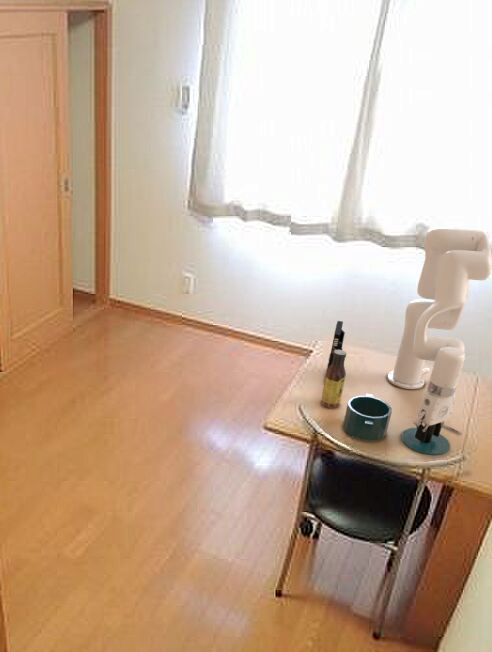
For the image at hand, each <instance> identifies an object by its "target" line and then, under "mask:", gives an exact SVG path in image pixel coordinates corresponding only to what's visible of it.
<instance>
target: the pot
mask: <svg viewBox="0 0 492 652" xmlns="http://www.w3.org/2000/svg"><path fill="white" fill-rule="evenodd" d="M364 394H365V395H356V396H353V397H351V398H350V399H349V400H348V401H347V405H346V410H345V414H344V419H343V424H342V429H343V431H344V432H345V433H346V434H347V436H349V437H350V438H356V439H359V440H363V441H368V442H369V441H370V442H372V441H379V440H382V439H384V438H385V437H386V436H387V432H388V429H389V424H390V420H391V417H392V413H393V411H392V407H391V406H390V405H389V403H388V402H387V401H385V400H383V399H382V398H378V397H375V396H374V394H372V393H364Z"/></svg>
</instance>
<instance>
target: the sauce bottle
mask: <svg viewBox="0 0 492 652" xmlns="http://www.w3.org/2000/svg"><path fill="white" fill-rule="evenodd" d="M346 358H347V352H346V351H345V350H343V349H342V350H335V351H334V353H333V361H332V364H331V365H330V366H329V368H328V369H327V368H326V374H327V375H326V374H325V379H324V385H323V389H322V396H321V404H322V405H323V407H326V408H327V409H328V408H329V409H336V408H338V407H339V406H340V404H341V402H342V396H343V392H344V387H345V381H346V377H347V376H346V375H347V373H346V369H345V360H346Z"/></svg>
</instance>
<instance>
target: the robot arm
mask: <svg viewBox="0 0 492 652" xmlns="http://www.w3.org/2000/svg"><path fill="white" fill-rule="evenodd" d="M423 244H424V245H423V246H424V254H425V256H424V258H425V259H424V262H423V264H422V268H421V273H420V276H419V280H418V283H417V294H418V296H419V297H420V298H421V299H414V300H411V301H410V302H409V303H408V304H407V305H406V308H405V317H404V326H403V332H402V336H401V340H400V344H399V348H398V352H397V356H396V360H395V363H394V368H393V370H392V371H391V370H390V372H388V374H387V380H388V382H390V384H392V385H394V386H395V387H398V388H401V389H406V390H418V389H421V388H423V387H424V385H425V379H424V378H423V376H424V375H426V374H428V373H430V372H431V373H430V377H429V380H428V384H427V387H426V391H425V394H424V395H423V398H422V400H421V402H420V406H419V409H418V412H417V416H416V418H415V419H414V420H413V424H414V425H415V426H416V428H417V431H416V435H415V438H416V439H418V440H419V441H421V442H424V441H425V438H426V434H427V431H426V430H427V428H428V426H430V425H434V424H435V425H436V426H435V429H434V433H433V435H434V436H436V437H438V436H439V434H441V431H442V428H443V426H444V425H445V421H448V420H449V419H450V418H451V417H452V413H453V410H454V405H455V400H456V389H457V386H458V382H459V379H460V376H461V373H462V370H463V367H464V364H465V360H466V354H465V352H466V345H465V344H464V341H463V340H461V339H460V338H458V337H457V338H456V337H447V336H438V335H430V333H429V332H428V329H434V330H435V329H437V330H445V331H453V330H455V329H456V328H458V326H459V324H460V322H461V319H462V316H463V313H464V310H465V308H466V304H467V301H468V298H469V295H470V290H471V281H485V280H487V279H488V278H489V277H490V275H491V273H492V248H491V245H490V241H489V237H488V235H487V234H486V232H484V231H482V230H477V229H466V228H456V227H432V228H429V230H427V231H426V233H425V236H424V241H423ZM426 361H429V362H434V363H433V367H432V369H430V368H429V367H425V365H426ZM423 423H424V425H423Z"/></svg>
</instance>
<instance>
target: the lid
mask: <svg viewBox="0 0 492 652" xmlns="http://www.w3.org/2000/svg"><path fill="white" fill-rule="evenodd" d="M435 426H436V425H435V424H434V425H430V426H428V428H427V430H426V431H427V434H426V438H425V441H424V442H421V441H419V440H418V439H416V438H415V435H416V431H417V427H410V428H407V429H404V430H403V432H402V433H401V440H402V443H403V444H404V445H405V446H406V447H408V448H409V449H411V450H412V451H414V452H417V453H419V454H423V455H427V456H442V455H444V454H446V453H448V452H449V451H450V447H451V444H450V442H449V440H448V439H447V438H446V437H445V436H444V435H442V434H441V433H440V434H439V436H438V437H436V436H434V435H433V433H434V429H435Z"/></svg>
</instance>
